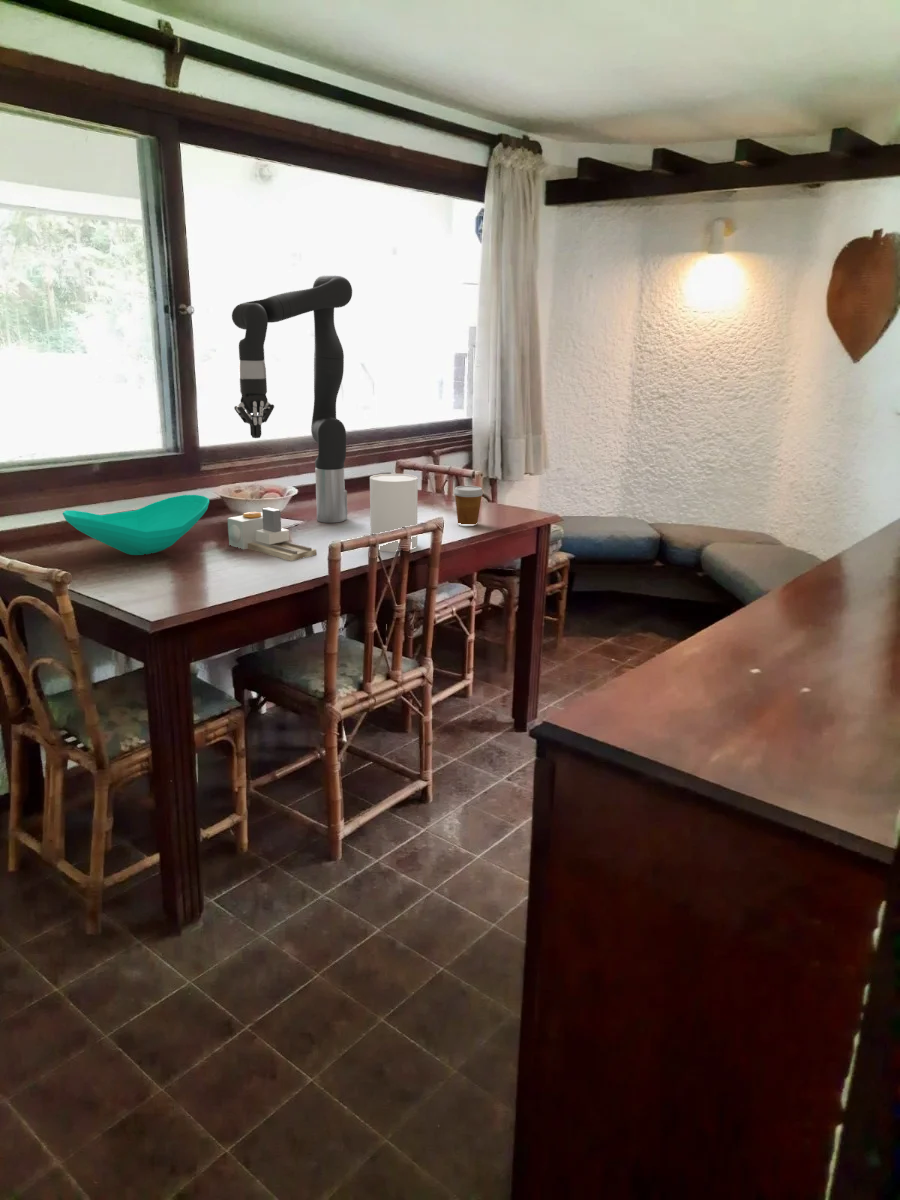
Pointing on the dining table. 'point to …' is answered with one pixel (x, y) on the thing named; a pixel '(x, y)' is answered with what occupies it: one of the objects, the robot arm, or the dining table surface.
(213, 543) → the dining table surface
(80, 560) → the dining table surface
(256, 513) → the button
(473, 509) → the disposable coffee cup
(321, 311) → the robot arm
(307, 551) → the rail track
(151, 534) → the table top decor
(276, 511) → the carriage
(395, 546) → the canister
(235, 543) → the end cabinet
